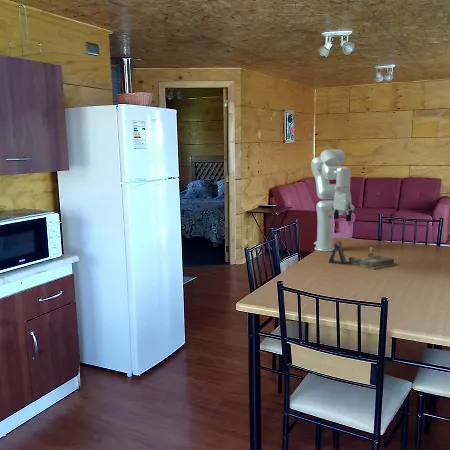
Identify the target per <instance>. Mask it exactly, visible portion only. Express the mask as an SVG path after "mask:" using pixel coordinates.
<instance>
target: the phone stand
mask: <svg viewBox="0 0 450 450" xmlns="http://www.w3.org/2000/svg"><path fill="white" fill-rule="evenodd" d="M333 247H334V250H333V251H332V253H331V255H330V258H329V260H328V264H335V265H345V264H346V262H347V260H346V256H345V253H344V251H343V247H342V241H341V240H339V241H338V240H336V242H335V243H334V245H333ZM337 250H338V255H339V258H340V259H339V260H335V257H336V254H337Z"/></svg>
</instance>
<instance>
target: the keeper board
mask: <svg viewBox="0 0 450 450" xmlns="http://www.w3.org/2000/svg"><path fill="white" fill-rule="evenodd" d="M374 248H375V247H373V246H370V247H369V253H368V254H367V257H362V258H357V257H354V256H351V257H348V263H349V264H352V265H356V266H360V267H363V268H367V269H369V270H378V269H383V268H387V267H392V266H396V265H397V263H396V262H395V259H394V258H392V257H388V256H384V255H379V254H377V253H374Z"/></svg>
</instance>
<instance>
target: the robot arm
mask: <svg viewBox="0 0 450 450" xmlns="http://www.w3.org/2000/svg"><path fill="white" fill-rule="evenodd" d="M345 159H346V155H345V152H344V150H342V149H337V148H336V149H325V150H322V151H321V153H320V156H316V157H313V158H312V160H311V163H310V166H311V167H310V169H311V173H312V174H313V177H314V180H315V187H316V188H315V189H316V196H317V198H318V199H320V200H319V201H318V202H317V203H316V205H315V206H316V208H315V209H316V215H317V217H316V219H317V228H316V229H317V232H316V234H317V235H316V240H315V242H313V245H315V246H314V250H315V251H317V252H333V250H334V246H333V226H334V223H333V221H332V218H330V216H333V219H334V220H339V218H340V217H339V216H341V215H343V214H344V213H345V212H346V215H345V221H346V222H352V215H353V213H354V210H355V208H356V207H355V206H354V205H353V204H352V195H351V176H352V175H351V168H350V167H348V166H343V165H342V164H344V162H345ZM330 180H331V181H332V180H333V181H334V180H336V182H335V183H332V184H331V183H330Z"/></svg>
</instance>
